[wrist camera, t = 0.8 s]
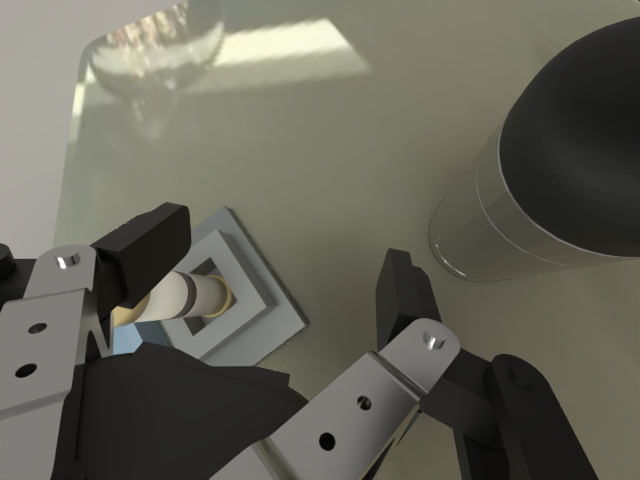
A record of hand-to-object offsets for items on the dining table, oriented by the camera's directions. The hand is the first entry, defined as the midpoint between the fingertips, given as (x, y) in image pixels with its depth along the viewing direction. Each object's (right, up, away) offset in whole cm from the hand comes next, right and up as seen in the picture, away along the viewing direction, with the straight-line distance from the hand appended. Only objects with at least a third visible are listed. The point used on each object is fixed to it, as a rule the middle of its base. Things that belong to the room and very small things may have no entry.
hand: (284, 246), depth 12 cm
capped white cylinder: (-9, -6, +20) cm, 23 cm away
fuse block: (-9, -6, +21) cm, 24 cm away
